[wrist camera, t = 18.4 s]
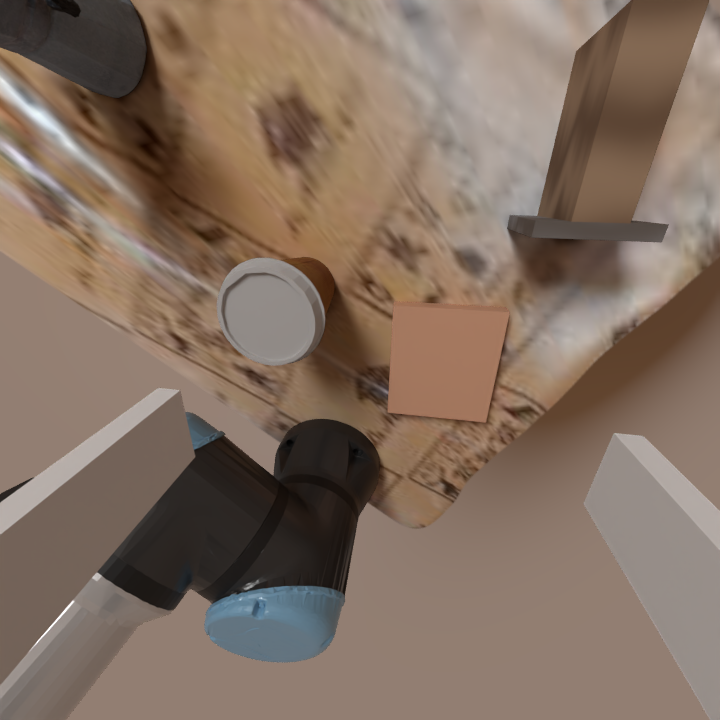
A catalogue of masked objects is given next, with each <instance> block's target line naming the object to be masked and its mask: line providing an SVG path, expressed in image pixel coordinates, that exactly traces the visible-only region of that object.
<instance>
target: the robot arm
mask: <svg viewBox="0 0 720 720" xmlns="http://www.w3.org/2000/svg"><path fill="white" fill-rule="evenodd" d="M224 435H225V433H224V432H222V431H218V430H217V429H215V428H214V427H213V426H211V425H210V424H208V423H207V422H205V421H204V420H203V419H202V418H200V417H199V416H197V415H196V414H193V413H190V412H185V409H184V406H183V401H182V396H181V392H180V390H173V389H163V388H158V389H157V390H155V391H154V392H152V393H151V394H150V395H148V396H147V397H145V398H144V399H143V400H141V401H140V402H138V403H137V404H136V405H134V406H133V407H131V408H130V409H129V410H128V411H126V412H125V413H123V414H122V415H120V416H119V417H118V418H117V419H115V420H114V421H112V422H111V423H109V424H108V425H107V426H105V427H104V428H103V429H101V430H100V431H98V432H97V433H96V434H94V435H93V436H91V437H90V438H89V439H87V440H86V441H85V442H83V443H82V444H80V445H79V446H78V447H76V448H75V449H74V450H72V451H71V452H69V453H68V454H67V455H65V456H64V457H63V458H61V459H60V460H58V461H57V462H56V463H55V464H53V465H51V466H50V467H49V468H48V469H46V470H45V471H43V472H42V473H40V474H39V475H38V476H36V477H35V478H31V479H29V480H27V481H25V482H23V483H21V484H19V485H17V486H15V487H13V488H11V489H9V490H7V491H5V492H3V493H1V494H0V720H66V719H67V718H68V717H69V715H70V714H71V712H72V711H73V710H74V709H75V708H76V706H77V705H78V704H79V702H80V701H81V700H82V699H83V697H84V696H85V695H86V693H87V692H88V691H89V689H90V688H91V687H92V686H93V684H94V683H95V682H96V680H97V679H98V678H99V677H100V675H101V674H102V673H103V671H104V670H105V669H106V667H107V666H108V665H109V664H110V662H111V661H112V660H113V658H114V657H115V656H116V655H117V653H118V652H119V650H120V649H121V648H122V647H123V645H124V644H125V643H126V642H127V640H128V639H129V638H130V636H131V635H132V634H133V632H134V631H135V630H136V628H137V627H138V626H140V625H141V624H143V623H144V622H148V621H151V620H153V619H157V618H160V617H163V616H166V615H169V614H170V613H171V612H172V611H173V610H174V609H175V608H176V606H177V605H178V604H179V602H180V601H181V599H182V598H183V597H184V595H185V594H186V593H187V591H189V590H190V589H192V590H194V591H196V592H197V593H198V594H200V595H201V596H203V597H204V598H206V599H207V600H209V601H210V602H211V603H212V605H210V607H209V608H208V610H207V612H206V619H205V624H204V625H205V631H206V633H207V635H209V636H210V639H211V640H212V641H213V642H214V643H216V644H217V645H218V646H220V647H222V648H224V649H225V650H227V651H230V652H232V653H234V654H237V655H240V656H244V657H247V658H251V659H255V660H261V661H268V662H296V661H302V660H307V659H310V658H312V657H315V656H317V655H319V654H320V653H322V652H323V651H324V650H325V649H326V648H327V647H328V646H329V645H330V643H331V642H332V640H333V638H334V635H335V632H336V628H337V624H338V619H339V616H340V612H341V608H342V606H343V605H344V602H345V591H346V585H347V579H348V573H349V568H350V562H351V555H352V550H353V545H354V539H355V533H356V528H357V522H358V517H359V515H360V513H361V512H362V510H363V509H364V507H365V505H366V504H367V502H368V500H369V499H370V497H371V496H372V494H373V492H374V491H375V488H376V486H377V483H378V478H379V471H380V461H379V457H378V454H377V451H376V449H375V448H374V446H373V444H372V443H371V442H370V441H369V440H368V438H367V437H365V436H364V435H363V434H362V433H361V432H359V431H358V430H356V429H355V428H353V427H351V426H349V425H347V424H344V423H341V422H338V421H334V420H328V419H314V420H308V421H305V422H302V423H299V424H297V425H296V426H294V427H293V428H291V429H290V430H289V431H288V432H287V433H286V435H285V436H284V438H283V440H282V442H281V443H280V445H279V448H278V450H277V453H276V457H275V466H274V476H273V475H271V474H270V473H269V472H267V471H266V470H265V469H264V468H263V467H261V466H260V465H259V464H257V463H256V462H255V461H254V460H253V459H251V458H250V457H249V456H248V455H247V454H246V453H244V452H243V451H242V450H241V449H240V448H238V447H237V446H236V445H235V444H233V443H232V442H231V441H230V440H229V439H228V438H226V437H225V436H224ZM584 506H585V508H586V509H587V511H588V513H589V514H590V516H591V518H592V520H593V521H594V523H595V525H596V526H597V528H598V530H599V531H600V533H601V535H602V537H603V538H604V540H605V542H606V543H607V545H608V547H609V549H610V550H611V552H612V554H613V555H614V557H615V559H616V560H617V562H618V564H619V565H620V567H621V569H622V571H623V572H624V574H625V576H626V578H627V579H628V581H629V583H630V584H631V586H632V588H633V589H634V591H635V593H636V594H637V596H638V598H639V599H640V601H641V603H642V605H643V606H644V608H645V610H646V611H647V613H648V615H649V617H650V618H651V620H652V622H653V623H654V625H655V627H656V628H657V630H658V632H659V634H660V636H661V637H662V639H663V641H664V642H665V644H666V646H667V647H668V649H669V651H670V652H671V654H672V656H673V658H674V659H675V661H676V663H677V664H678V666H679V668H680V670H681V671H682V673H683V675H684V676H685V678H686V680H687V682H688V683H689V685H690V687H691V688H692V690H693V692H694V693H695V695H696V697H697V699H698V700H699V702H700V704H701V706H702V707H703V709H704V711H705V712H706V714H707V716H708V717H709V719H710V720H720V511H719V510H718V509H717V508H716V507H715V506H714V505H713V504H712V503H711V502H710V501H709V500H708V499H707V498H706V497H705V496H704V495H703V494H702V493H701V492H700V491H699V490H698V489H697V488H696V487H695V486H694V485H693V484H692V483H691V482H689V480H687V479H686V478H685V477H684V476H683V475H682V474H681V473H680V472H679V471H678V470H677V469H676V468H675V467H674V466H673V465H672V464H671V463H670V462H669V461H668V460H667V459H666V458H665V457H664V456H663V455H662V454H661V453H660V452H659V451H658V450H657V449H656V448H655V447H654V446H653V445H652V444H651V443H650V442H649V441H648V440H647V439H646V438H644V436H638V435H627V434H617V433H614V434H613V436H612V439H611V441H610V443H609V446H608V448H607V450H606V453H605V455H604V457H603V459H602V462H601V464H600V466H599V469H598V471H597V474H596V476H595V478H594V480H593V483H592V485H591V487H590V490H589V492H588V494H587V497H586V499H585V501H584Z"/></svg>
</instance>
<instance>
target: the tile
mask: <svg viewBox="0 0 720 720" xmlns="http://www.w3.org/2000/svg"><path fill="white" fill-rule="evenodd" d="M509 314H510V312H509V310H508V309H507V308H506V307H493V306H474V305H456V304H437V303H419V302H400V301H394V306H393V323H392V341H391V359H390V377H389V395H388V413H397V414H407V415H417V416H427V417H437V418H446V419H456V420H466V421H476V422H486V420H487V415H488V411H489V406H490V401H491V397H492V392H493V388H494V383H495V378H496V374H497V369H498V365H499V360H500V356H501V351H502V346H503V342H504V337H505V333H506V328H507V323H508V319H509Z"/></svg>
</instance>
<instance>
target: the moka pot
mask: <svg viewBox="0 0 720 720" xmlns="http://www.w3.org/2000/svg"><path fill="white" fill-rule="evenodd" d="M0 48H3V49H6V50H9V51H12V52H15V53H18V54H20V55H22V56H24V57H26V58H28V59H30V60H32V61H34V62H36V63H38V64H40V65H42V66H44V67H45V68H47V69H49V70H51V71H53V72H55V73H57V74H59V75H61V76H63V77H65V78H67V79H69V80H71V81H73V82H75V83H77V84H79V85H81V86H83V87H84V88H87V89H89V90H91V91H93V92H95V93H98V94H102V95H105V96H110V97H113V98H120V97H122V96H125V95H127V94H129V93H130V92H131V91H132V90H133V89H134V88H135V87H136V85H137V84H138V82H139V80H140V79H141V76H142V74H143V68H144V64H145V59H146V53H147V47H146V42H145V37H144V34H143V29H142V26H141V23H140V20H139V18H138V16H137V13H136V11H135V9H134V6H133V5H132V3H131V1H130V0H0Z"/></svg>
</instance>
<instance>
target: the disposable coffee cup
mask: <svg viewBox="0 0 720 720" xmlns="http://www.w3.org/2000/svg"><path fill="white" fill-rule="evenodd" d="M334 290H335V285H334V279H333V277H332V275H331V273H330V271H329V270H328V268H327V267H326V266H325V265H324V264H323V263H321V262H320V261H318V260H316V259H313V258H309V257H302V258H293V259H285V260H276V259H272V258H254V259H250V260H247V261H245V262H243V263H241V264H239V265H238V266H236V267H235V268H233V269H232V271H231V272H230V273H229V274H228V275H227V277H226V278H225V280H224V282H223V284H222V287H221V290H220V292H219V295H218V301H217V314H218V320H219V323H220V326H221V328H222V330H223V332H224V334H225V336H226V338H227V339H228V340H229V342H230V343H231V344H232V345H233V346H234V348H235V349H237V350H238V351H239V352H240V353H241V354H243V355H244V356H246V357H248V358H249V359H251V360H253V361H256V362H258V363H262V364H265V365H284V364H289V363H294V362H297V361H300V360H302V359H303V358H305V357H307V356H308V355H309V354H310V353H312V352H313V351H314V350H315V348H316V347H317V345H318V344H319V343H320V340H321V338H322V336H323V333H324V328H325V316H326V314H327V311H328V308H329V305H330V303H331V300H332V298H333V295H334Z"/></svg>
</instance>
